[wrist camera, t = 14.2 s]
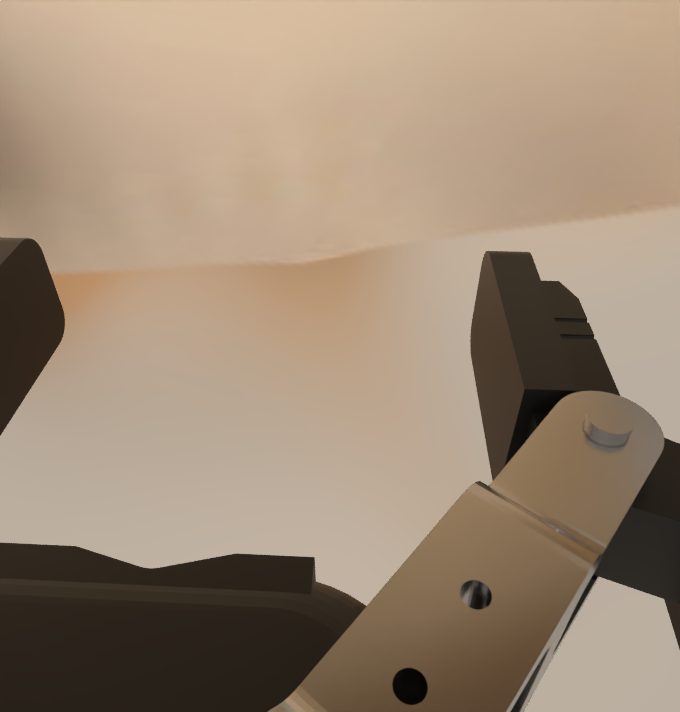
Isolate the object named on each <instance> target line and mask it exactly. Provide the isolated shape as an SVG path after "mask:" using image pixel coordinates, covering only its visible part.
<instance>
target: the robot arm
mask: <svg viewBox="0 0 680 712" xmlns="http://www.w3.org/2000/svg"><path fill="white" fill-rule="evenodd" d="M64 327H65V319H64V312H63V308H62V305H61V302H60V300H59V297H58V294H57V291H56V288H55V286H54V283H53V280H52V277H51V274H50V272H49V269H48V266H47V263H46V260H45V258H44V255H43V252H42V250H41V248H40V246H39V245H38V243H37V242H36V241H35V240H33V239H29V238H0V435H1V434H2V432H3V430H4V429H5V427H6V426H7V424H8V423H9V421H10V420H11V418H12V417H13V415H14V414H15V412H16V410H17V409H18V407H19V406H20V404H21V403H22V401H23V400H24V398H25V396H26V395H27V393H28V392H29V390H30V389H31V387H32V385H33V384H34V382H35V381H36V379H37V378H38V376H39V375H40V373H41V372H42V370H43V369H44V367H45V365H46V364H47V362H48V361H49V359H50V358H51V356H52V355H53V353H54V351H55V350H56V348H57V347H58V345H59V344H60V342H61V340H62V337H63V333H64ZM471 358H472V364H473V369H474V375H475V381H476V387H477V393H478V398H479V404H480V410H481V416H482V421H483V427H484V432H485V438H486V445H487V451H488V456H489V461H490V468H491V474H492V479H493V482H492V483H491V484H490V485H488V486H487V485H486V484H484V483H482V482H480V481H479V482H475V483H474V484H472V485H471V486H470V487H469V488H468V489H467V490H466V491H465V492H464V493H463V494H462V495H461V496H460V498H459V499H458V500H457V501H456V502H455V504H454V505H453V506H452V507H451V508H450V509H449V511H448V512H447V513H446V514H445V515H444V516H443V518H442V519H441V520H440V521H439V522H438V523H437V525H436V526H435V527H434V528H433V529H432V531H431V532H430V533H429V534H428V535H427V537H425V539H424V540H423V541H422V542H421V543H420V545H419V546H418V547H417V548H416V549H415V550H414V552H413V553H412V554H411V555H410V556H409V557H408V559H407V560H406V561H405V562H404V563H403V564H402V566H401V567H400V568H399V569H398V570H397V572H396V573H395V574H394V575H393V576H392V577H391V578H390V580H389V581H388V582H387V583H386V584H385V585H384V587H383V588H382V589H381V590H380V591H379V593H378V594H377V595H376V596H375V597H374V598H373V600H372V601H371V602H370V603H369V604H368V605H367V606H366V605H364V604H363V603H361V602H359V601H358V600H356V599H355V598H353V597H351V596H349V595H348V594H346V593H344V592H342V591H340V590H337V589H335V588H333V587H331V586H327V585H325V584H321V583H318V582H316V579H315V560H314V557H295V556H274V555H273V556H272V555H252V554H232V555H226V556H221V557H216V558H210V559H205V560H199V561H194V562H189V563H183V564H178V565H172V566H167V567H161V568H154V569H149V568H143V567H139V566H135V565H133V564H130V563H127V562H123V561H120V560H117V559H114V558H111V557H108V556H105V555H101V554H98V553H95V552H92V551H89V550H86V549H83V548H80V547H76V546H59V545H37V544H16V543H0V712H524V710H525V708H526V706H527V705H528V703H529V701H530V699H531V697H532V695H533V693H534V691H535V690H536V688H537V686H538V684H539V682H540V680H541V678H542V676H543V675H544V673H545V671H546V669H547V667H548V666H549V664H550V662H551V660H552V658H553V657H554V655H555V653H556V652H557V650H558V648H559V646H560V645H561V643H562V641H563V639H564V638H565V636H566V634H567V632H568V631H569V629H570V627H571V625H572V624H573V622H574V620H575V618H576V616H577V615H578V613H579V611H580V610H581V608H582V606H583V604H584V603H585V601H586V599H587V597H588V596H589V594H590V592H591V590H592V588H593V587H594V585H595V583H596V581H597V579H598V578H599V577H602V578H605V579H608V580H611V581H614V582H616V583H619V584H623V585H626V586H628V587H631V588H634V589H637V590H640V591H643V592H646V593H649V594H652V595H655V596H657V597H660V598H663V599H664V600H665V603H666V606H667V610H668V613H669V616H670V619H671V623H672V626H673V629H674V632H675V635H676V638H677V642H678V645H679V648H680V444H679V443H676V442H673V441H671V440H669V439H666V438H664V436H663V432H662V430H661V428H660V426H659V424H658V423H657V421H656V420H655V419H654V418H653V417H652V416H651V415H650V414H649V413H648V412H647V411H646V410H645V409H643V408H642V407H640V406H639V405H637V404H636V403H634V402H632V401H630V400H628V399H626V398H624V397H621V396H620V394H619V392H618V389H617V388H616V385H615V383H614V380H613V378H612V375H611V373H610V371H609V368H608V366H607V364H606V362H605V359H604V357H603V355H602V352H601V350H600V348H599V345H598V343H597V341H596V340H595V339H594V334H593V331H592V329H591V327H590V325H589V323H587V317H586V315H585V313H584V310H583V308H582V306H581V303H580V301H579V299H578V298H577V297H576V296H574V294H573V293H571V292H570V291H569V290H568V289H567V288H566V287H565V286H564V285H562V284H561V283H560V282H559V281H541V280H540V277H539V274H538V272H537V269H536V266H535V263H534V261H533V258H532V255H531V254H530V253H529V252H503V251H486V252H485V254H484V257H483V261H482V266H481V272H480V278H479V284H478V290H477V296H476V301H475V308H474V313H473V319H472V327H471Z"/></svg>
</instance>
